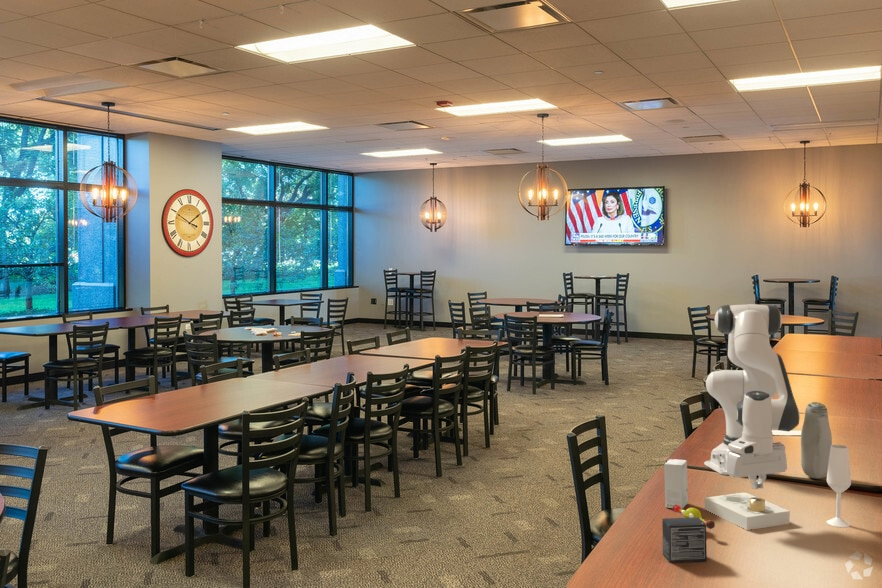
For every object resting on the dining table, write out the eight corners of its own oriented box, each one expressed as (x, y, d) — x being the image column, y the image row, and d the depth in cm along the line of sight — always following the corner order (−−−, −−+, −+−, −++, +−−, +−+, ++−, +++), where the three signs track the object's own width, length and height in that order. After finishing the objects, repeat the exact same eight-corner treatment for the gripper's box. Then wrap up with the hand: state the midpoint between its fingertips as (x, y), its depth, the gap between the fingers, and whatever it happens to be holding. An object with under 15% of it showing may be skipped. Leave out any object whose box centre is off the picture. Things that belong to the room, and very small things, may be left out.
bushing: (746, 520, 241) (746, 498, 240) (757, 518, 242) (758, 496, 242) (756, 524, 236) (756, 502, 236) (767, 523, 238) (768, 500, 237)
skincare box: (682, 510, 251) (682, 465, 250) (663, 507, 254) (663, 463, 253) (688, 503, 258) (688, 459, 257) (669, 500, 261) (669, 457, 260)
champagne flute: (829, 518, 241) (829, 442, 240) (852, 522, 237) (853, 445, 236) (823, 524, 236) (824, 447, 235) (848, 528, 232) (848, 450, 230)
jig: (704, 509, 251) (704, 497, 251) (745, 504, 256) (745, 492, 256) (746, 530, 232) (746, 517, 232) (789, 523, 237) (789, 511, 237)
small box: (698, 552, 216) (698, 516, 215) (707, 562, 209) (707, 524, 209) (661, 553, 215) (661, 517, 215) (669, 563, 209) (669, 525, 208)
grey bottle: (834, 482, 278) (835, 405, 276) (804, 481, 280) (805, 405, 278) (826, 474, 287) (827, 400, 286) (797, 473, 290) (798, 399, 288)
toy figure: (666, 521, 240) (666, 500, 240) (680, 519, 242) (680, 498, 242) (704, 541, 224) (704, 518, 223) (720, 538, 226) (720, 516, 225)
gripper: (777, 439, 244) (777, 482, 244) (723, 444, 238) (723, 489, 238) (792, 443, 238) (791, 487, 238) (737, 449, 232) (737, 494, 232)
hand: (757, 488), depth 238 cm, fingers closed
